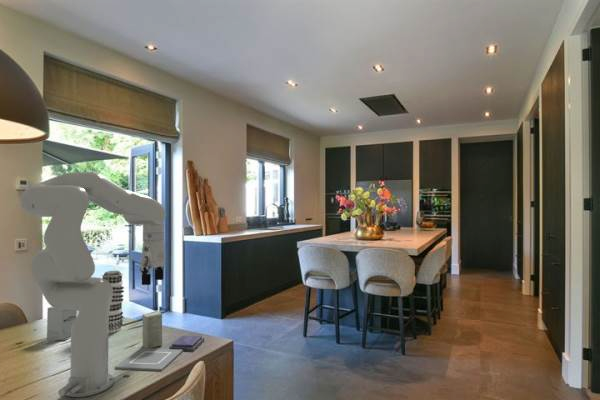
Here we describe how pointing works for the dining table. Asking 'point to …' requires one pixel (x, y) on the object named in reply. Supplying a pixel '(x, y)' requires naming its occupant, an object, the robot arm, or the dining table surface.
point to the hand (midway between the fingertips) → (152, 282)
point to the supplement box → (59, 323)
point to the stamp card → (149, 359)
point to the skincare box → (152, 329)
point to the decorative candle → (115, 300)
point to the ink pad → (187, 343)
